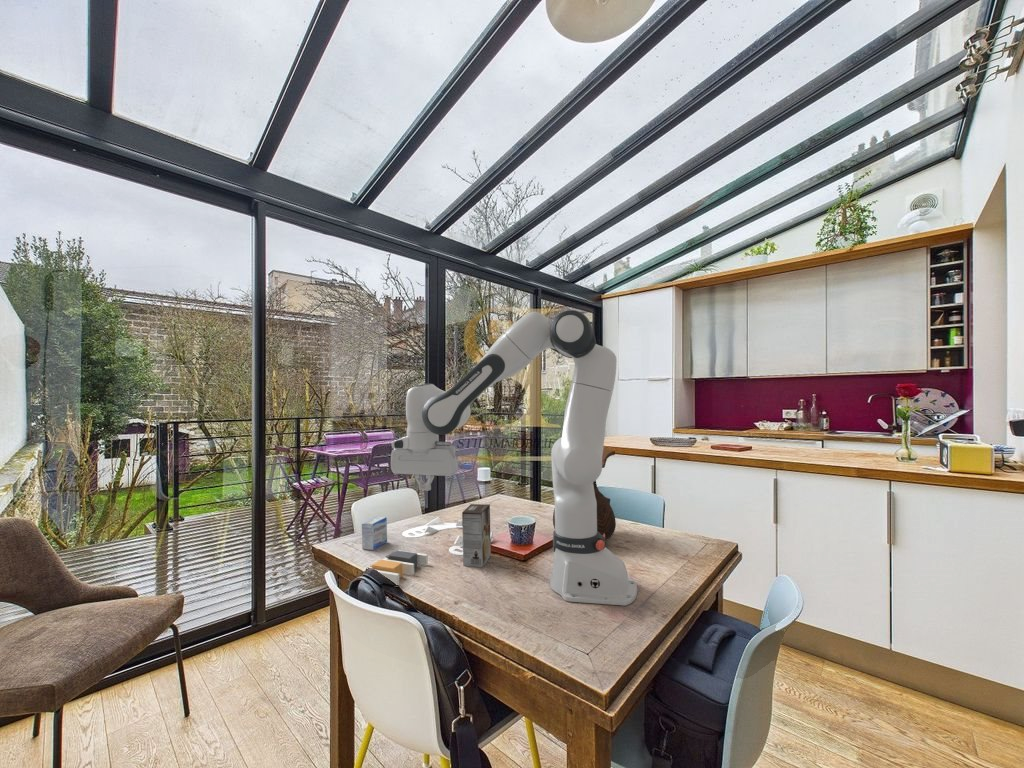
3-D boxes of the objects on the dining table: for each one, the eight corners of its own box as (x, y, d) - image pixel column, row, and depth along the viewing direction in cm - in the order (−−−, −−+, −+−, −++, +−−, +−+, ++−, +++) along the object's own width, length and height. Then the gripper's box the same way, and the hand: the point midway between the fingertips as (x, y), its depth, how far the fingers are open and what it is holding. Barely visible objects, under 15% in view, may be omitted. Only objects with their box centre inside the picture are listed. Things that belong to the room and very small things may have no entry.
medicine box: (373, 550, 143) (372, 524, 143) (361, 549, 144) (361, 522, 144) (387, 542, 150) (387, 516, 150) (376, 541, 152) (376, 515, 152)
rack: (427, 564, 131) (427, 553, 131) (397, 586, 117) (397, 574, 117) (398, 559, 135) (398, 549, 135) (365, 580, 121) (365, 568, 121)
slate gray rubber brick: (417, 566, 130) (417, 553, 130) (409, 572, 126) (409, 558, 126) (397, 563, 133) (397, 550, 133) (389, 569, 129) (388, 555, 129)
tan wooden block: (402, 577, 124) (402, 562, 124) (393, 583, 120) (393, 568, 120) (381, 573, 126) (381, 559, 126) (372, 579, 122) (372, 565, 122)
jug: (619, 553, 137) (618, 457, 137) (550, 550, 141) (549, 456, 141) (615, 530, 159) (614, 447, 159) (555, 528, 162) (554, 446, 162)
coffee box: (471, 554, 139) (470, 503, 139) (491, 555, 137) (490, 504, 137) (462, 566, 130) (461, 511, 130) (483, 567, 128) (482, 512, 128)
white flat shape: (396, 535, 159) (396, 525, 159) (447, 518, 177) (447, 510, 177) (463, 559, 136) (463, 548, 136) (513, 537, 154) (513, 528, 154)
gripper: (460, 440, 124) (462, 489, 124) (399, 439, 131) (401, 485, 131) (449, 443, 118) (451, 494, 118) (386, 442, 125) (388, 491, 125)
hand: (425, 490), depth 125 cm, fingers closed
